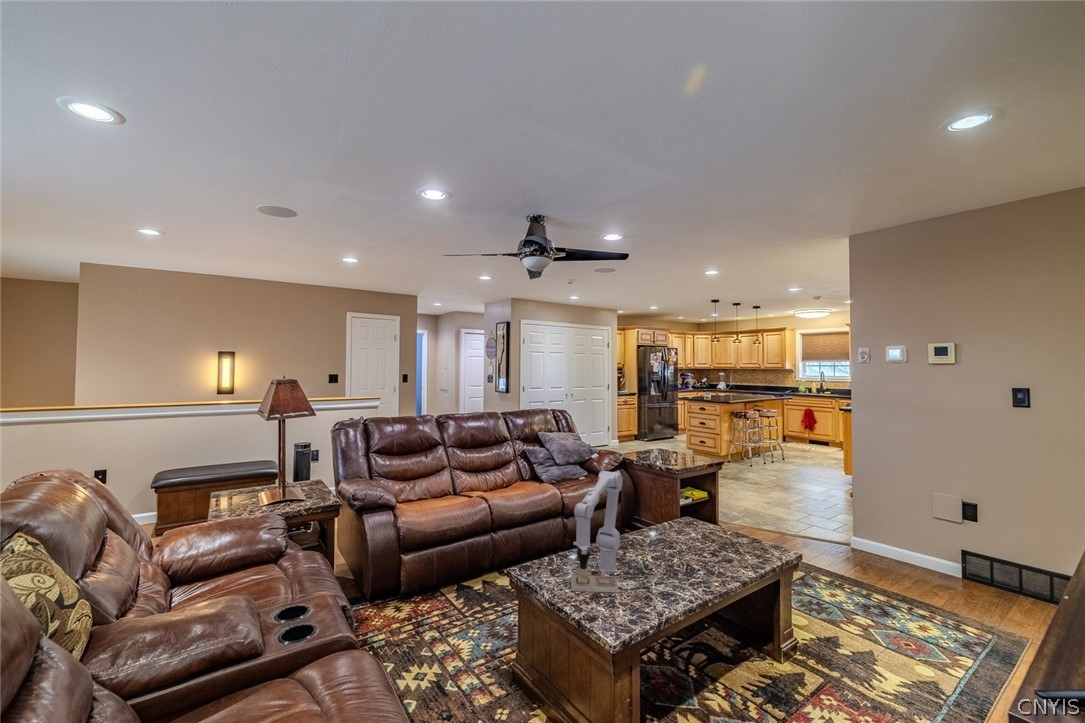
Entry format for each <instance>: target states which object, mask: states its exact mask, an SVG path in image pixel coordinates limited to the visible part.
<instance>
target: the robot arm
mask: <svg viewBox="0 0 1085 723" xmlns="http://www.w3.org/2000/svg"><path fill="white" fill-rule="evenodd" d="M623 481H624V480H623V476H622V474H621V473H620V472H613V471H607V470H603V469H602V470H600V472H599V474H598V476H597V482H596V484H595V485H594V488H593V490H591V491H588V492H587V494H586V495H585V496H584V497H583V499H582V500H581V501H580V502H578V503H576V504H575V506H574V510H573V514H574V516H575V518H574V519H575V521H576V532H575V533H576V535H575V537H576V540H575V541H573V546H575V547H576V548H577V551H576V554H577V557H578V561H579V564H580V567H581V569H586V567H588V561H589V559H590V557H591V551H588V549H589V547H590V546H591V518H592V517H593V515H594V510H595V507H596V505H597V504H598V503H599V501H600V496H601V495H602V493H603V492H604V491H605V490H606V491H607V496H606V507H605V511H604V512H605V513H604V520H603V521H604V522H603V526H602V527H600V528H598V533H597V535H596V539H595V540H596V541H595V542H596V544H597V546H598V549H600V550H599V561H598V562H597V565H598V568H599V572H605V573H607V572H608V573H610V572H611V573H618V568H617V550H618V549H619V548H620V546H621V539H620V538H621V537H620V536H621V534H620V532H619V531H618V530H617V529H616V521H617V513H618V512H617V511H618V503H619V494H620V493H619V492H621V491H622V488H623Z"/></svg>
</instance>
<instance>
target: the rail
mask: <svg viewBox="0 0 1085 723" xmlns="http://www.w3.org/2000/svg"><path fill="white" fill-rule="evenodd" d="M570 585H571V592H585V593H586V592H589V593H591V592H594V593H619V586H618V582H617V579H616V576H614V575H613V576H611V575H610V576H609V575H588V584H578V574H577V575H576V574H575V575H574V574H571V575H570Z"/></svg>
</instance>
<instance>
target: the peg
mask: <svg viewBox="0 0 1085 723" xmlns="http://www.w3.org/2000/svg"><path fill="white" fill-rule="evenodd" d="M577 575H578V582H577V584H589V583H588V576H589V567H588V566H587V567H586V569H581V567H580V563H579V564H577Z"/></svg>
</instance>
